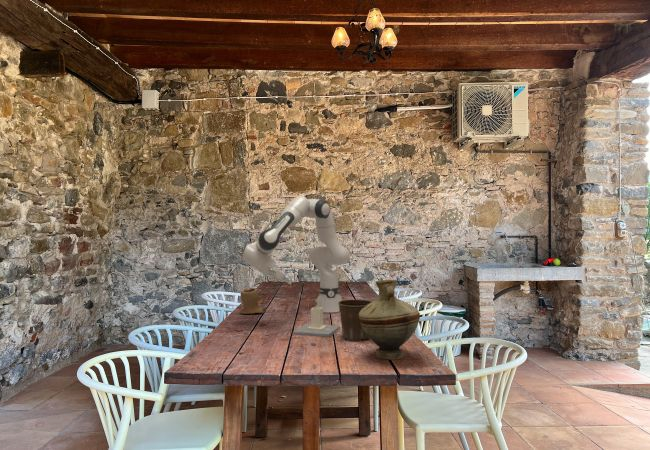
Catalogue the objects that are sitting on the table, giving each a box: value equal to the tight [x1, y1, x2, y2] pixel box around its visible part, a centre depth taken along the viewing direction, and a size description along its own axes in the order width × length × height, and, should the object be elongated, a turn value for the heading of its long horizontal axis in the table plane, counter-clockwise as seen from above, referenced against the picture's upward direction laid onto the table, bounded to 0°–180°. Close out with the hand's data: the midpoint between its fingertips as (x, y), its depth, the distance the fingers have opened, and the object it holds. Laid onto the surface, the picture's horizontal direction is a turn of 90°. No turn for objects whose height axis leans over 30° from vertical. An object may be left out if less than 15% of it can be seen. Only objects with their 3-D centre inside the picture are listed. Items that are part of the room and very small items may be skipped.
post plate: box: [292, 323, 341, 338], centre depth 210 cm, size 18×18×8 cm
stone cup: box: [239, 287, 267, 315], centre depth 255 cm, size 15×12×15 cm
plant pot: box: [338, 299, 373, 342], centre depth 197 cm, size 16×16×16 cm
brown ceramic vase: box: [359, 279, 421, 361], centre depth 168 cm, size 24×24×30 cm
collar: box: [307, 306, 328, 331], centre depth 210 cm, size 8×8×10 cm
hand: (291, 283), depth 222 cm, fingers open, 8 cm apart
